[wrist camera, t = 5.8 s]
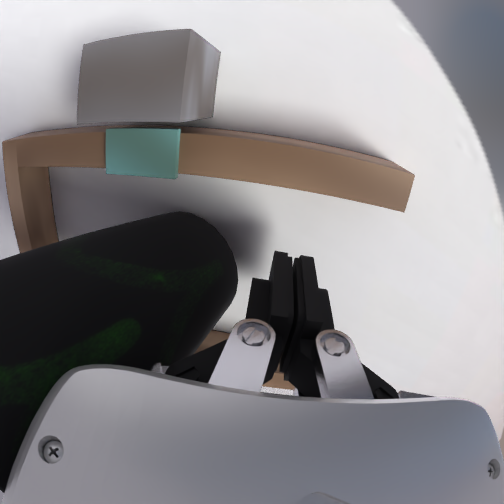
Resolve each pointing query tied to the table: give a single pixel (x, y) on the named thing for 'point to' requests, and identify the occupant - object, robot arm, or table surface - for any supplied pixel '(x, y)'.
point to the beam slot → (175, 140)
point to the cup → (105, 308)
